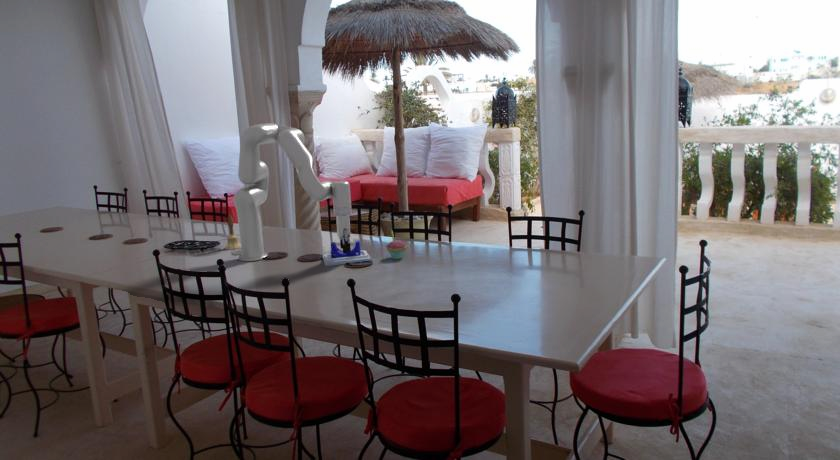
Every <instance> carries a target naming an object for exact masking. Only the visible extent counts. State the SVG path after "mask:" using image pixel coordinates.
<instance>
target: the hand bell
mask: <svg viewBox="0 0 840 460" xmlns="http://www.w3.org/2000/svg"><path fill="white" fill-rule="evenodd" d="M227 225H228V229H229V236H228V237H227V243H226V245H225V246H224V249H225V250H228V251H235V250H240V249H241V242H239V239H238V236H237V235H235V232H234V218H233V217H232V215H231V214H228V215H227Z"/></svg>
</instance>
